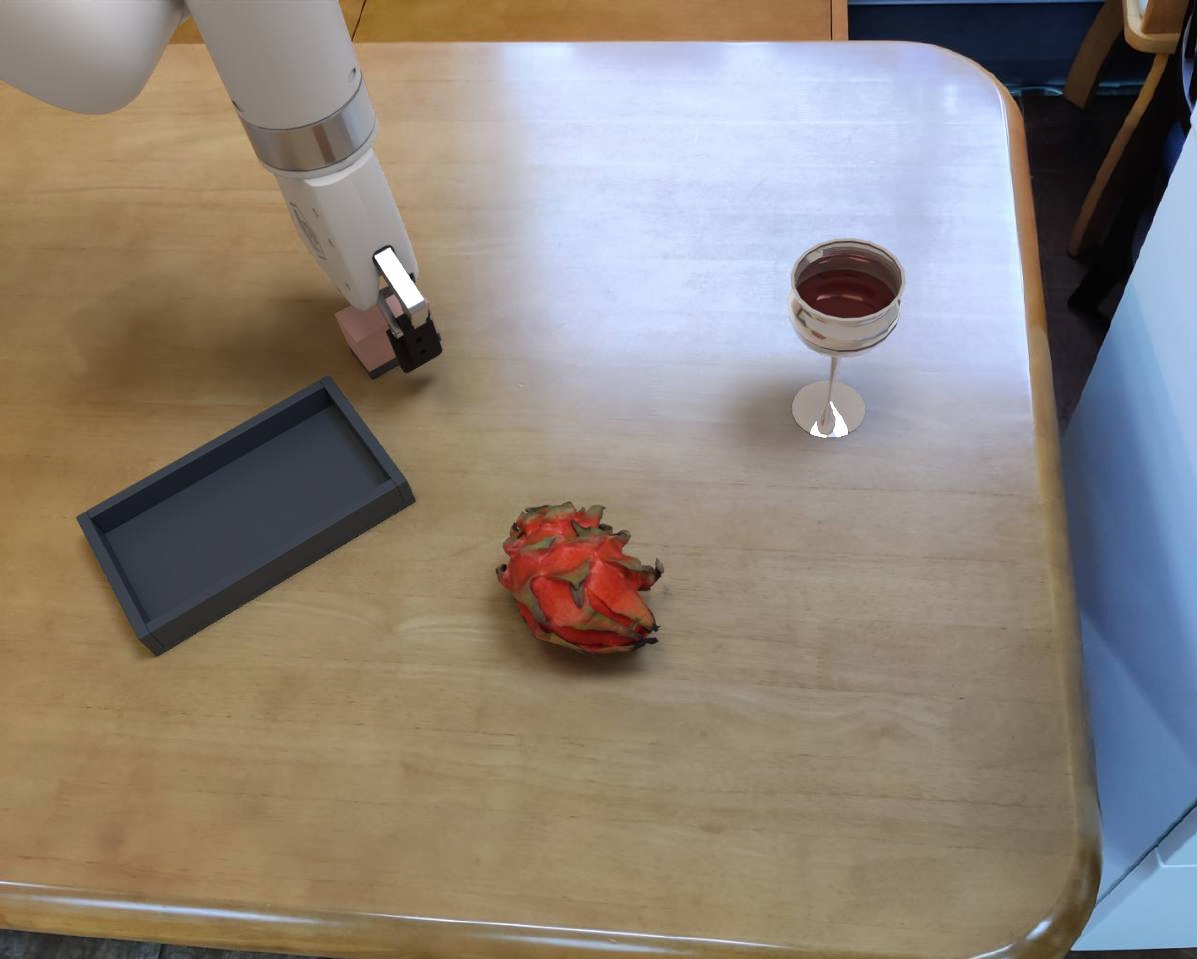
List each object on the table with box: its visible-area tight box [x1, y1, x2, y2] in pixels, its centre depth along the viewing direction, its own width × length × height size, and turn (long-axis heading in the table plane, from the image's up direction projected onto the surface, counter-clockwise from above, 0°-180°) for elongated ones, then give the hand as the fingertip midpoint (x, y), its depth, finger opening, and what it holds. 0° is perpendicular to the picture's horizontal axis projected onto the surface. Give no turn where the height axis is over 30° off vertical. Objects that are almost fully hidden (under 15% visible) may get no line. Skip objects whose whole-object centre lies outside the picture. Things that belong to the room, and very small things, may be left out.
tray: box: [75, 374, 417, 657], centre depth 71 cm, size 20×12×2 cm, turn 124°
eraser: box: [334, 284, 442, 380], centre depth 77 cm, size 6×4×4 cm, turn 124°
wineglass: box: [787, 237, 907, 438], centre depth 67 cm, size 7×7×12 cm
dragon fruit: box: [495, 501, 665, 658], centre depth 64 cm, size 8×8×12 cm
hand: (389, 321), depth 77 cm, fingers open, 9 cm apart
